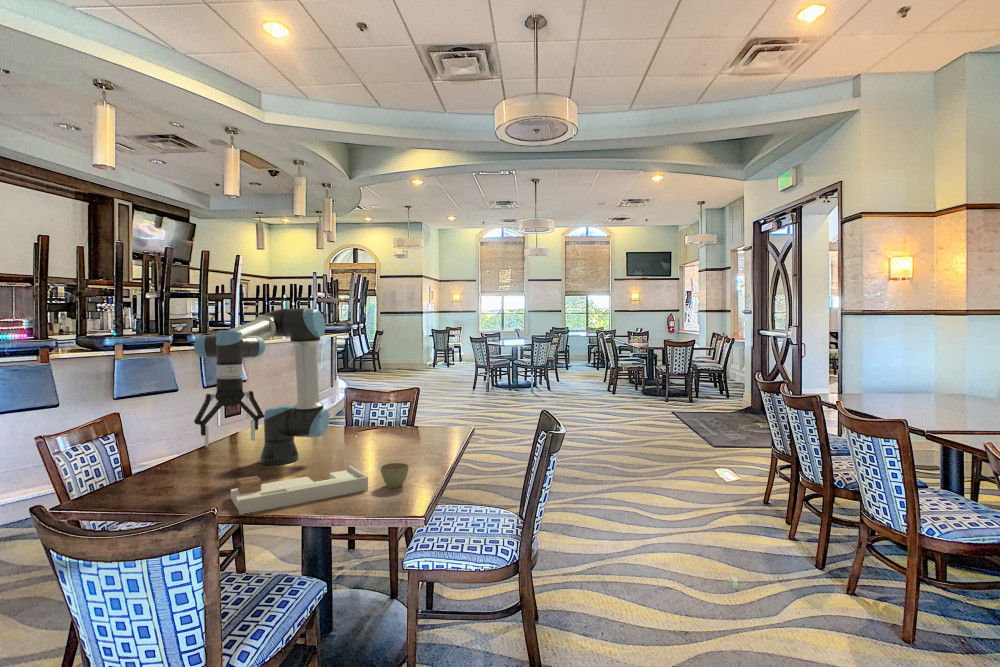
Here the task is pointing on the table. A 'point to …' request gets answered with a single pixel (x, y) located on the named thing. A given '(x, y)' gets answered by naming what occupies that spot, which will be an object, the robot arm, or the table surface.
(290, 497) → the tray
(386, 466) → the flower pot
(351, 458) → the table surface
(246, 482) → the block
